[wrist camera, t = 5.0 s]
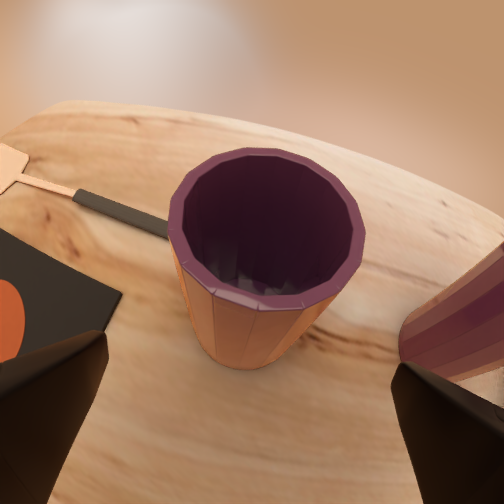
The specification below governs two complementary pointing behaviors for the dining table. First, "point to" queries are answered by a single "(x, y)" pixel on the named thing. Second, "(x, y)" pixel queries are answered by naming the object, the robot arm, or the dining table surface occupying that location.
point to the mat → (46, 300)
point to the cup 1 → (261, 250)
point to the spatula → (75, 193)
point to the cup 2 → (460, 324)
